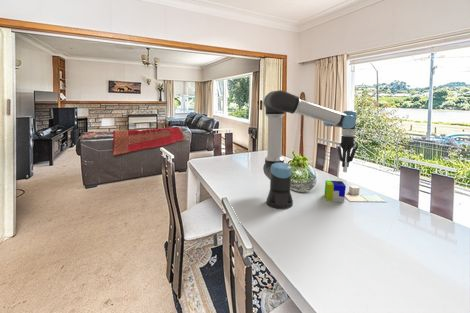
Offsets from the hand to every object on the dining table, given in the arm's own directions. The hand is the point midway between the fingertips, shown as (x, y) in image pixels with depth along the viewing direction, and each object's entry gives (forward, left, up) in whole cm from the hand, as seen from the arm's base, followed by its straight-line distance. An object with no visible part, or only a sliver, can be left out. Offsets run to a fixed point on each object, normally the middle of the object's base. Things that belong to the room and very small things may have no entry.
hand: (344, 171), depth 164 cm
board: (+9, -10, -15) cm, 20 cm away
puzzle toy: (-9, -10, -15) cm, 20 cm away
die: (+7, 0, -15) cm, 16 cm away
